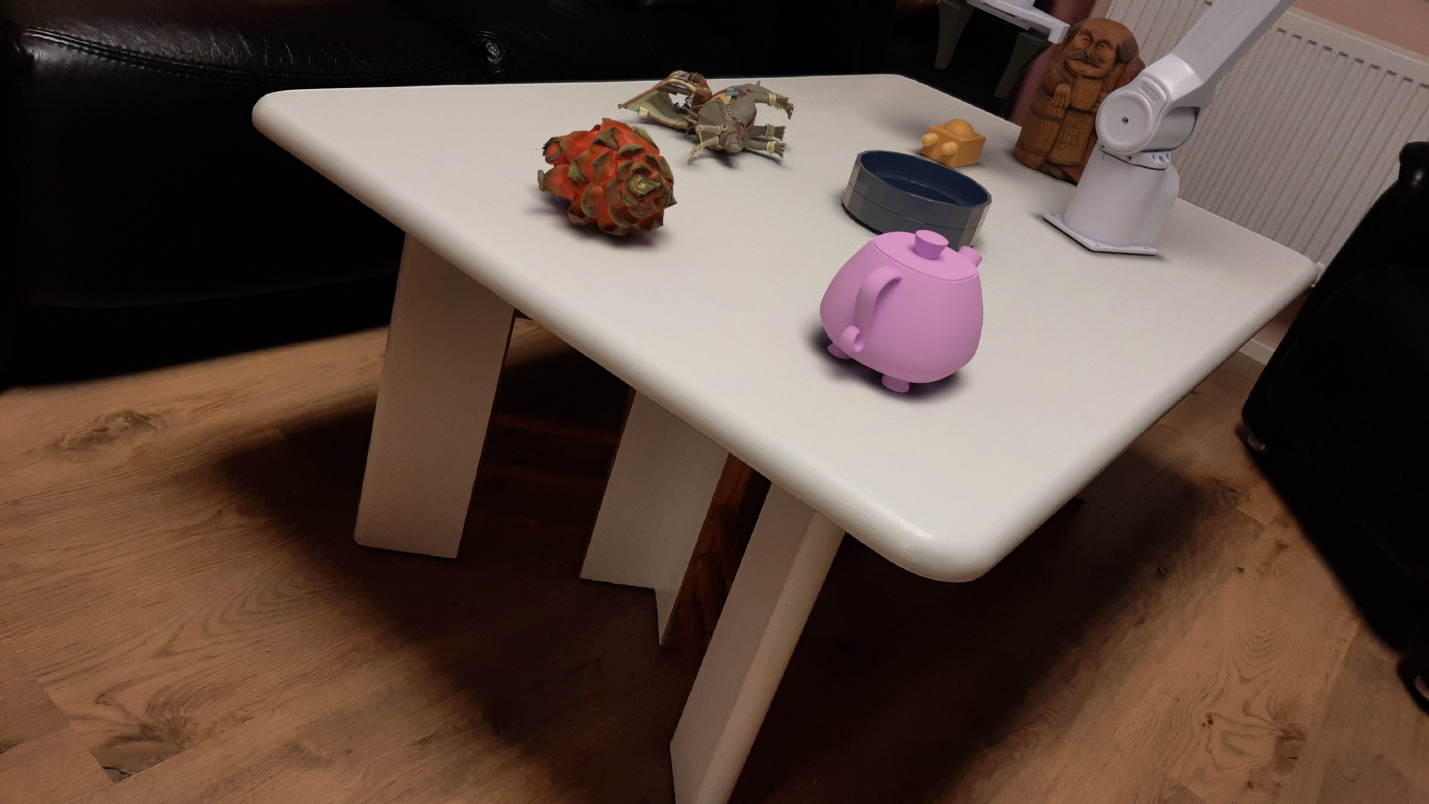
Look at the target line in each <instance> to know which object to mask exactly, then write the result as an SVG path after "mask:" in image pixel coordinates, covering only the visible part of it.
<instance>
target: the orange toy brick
mask: <svg viewBox="0 0 1429 804" xmlns="http://www.w3.org/2000/svg"><path fill="white" fill-rule="evenodd" d="M986 141H987V136H985V135H983V134H980V133H978V132H975V129H974V127H973V126H972V124H971V123H970V122H969V121H968V120H966V119H963V118H954V119H951V120H948V121H947V122H945V123H944V124H939V125H932V126H931V125H930V126H929V128H928V131H927V133H925V134H924V135H922V137H921V139H920V142H921V144H922V147H921V151H920V154H922V155H923V156H925V157H927V158H930V159H932V160H933V161H935V162H937V163H939V164H942V165H944V166H946V167H949V168H951V169H954V168H960V167H965V166H970V165H976V164H978V162H979V158H980V156H981V154H982V150H983V148H984V146H985V143H986Z"/></svg>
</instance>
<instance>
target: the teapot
mask: <svg viewBox="0 0 1429 804" xmlns="http://www.w3.org/2000/svg"><path fill="white" fill-rule="evenodd" d="M947 245H948V240H947V239H945V238H944V237H943V236H941V235H940V234H937V233H935V232H932V231H928V230H918V231H916V234H912V233H907V232H889V233H882V234H879V235H876V236H875V237H873V238H872V239H870V240H869V241H868V242H866V244H864V245H863V246H862V247H860V249H858V250H857V251H856V252H855V253H854V254H853V255H852V256H851V257H850V258H849V259H848V260H847V261H846V262H845V263H844V264H843V265H842V266H841V267H840V268H839V269H838V271H837V272H836V273H835V275H834V276H833V278H832V279H831V281H830V283H829V284H828V286H827V288H826V290H825V292H824V294H823V296H822V298H821V301H820V303H819V315H820V320H821V323H822V325H823V329H824V330H825V333H826V335H827V337H828V338H829V339H830V341H831V342H832V343H831V344H830V345H828V346H827V351H828V352H829V353H830V354H831V355H833V356H834V357H837V358H839V359H843V360H844V359H845V360H851V359H853V360H855V361H857V362H858V363H860V364H862V365H864V366H866V367H867V368H870V369H872V370H874V371H876V372H878V373H880V374H882V378H881V383H882V384H883V386H884V387H886V388H887V389H889V390H891V391H893V392H895V393H907V392H908V391H909V390H910V383H916V384H927V383H933V382H936V381H940V380H942V379H945V378H947V377H949V376H950V375H953V374H954V373H956V372H958V371H959V370H961V369H962V368H964V367H966V365H967V364H969V363H970V362H971V360H972V359H973V358H974V357H975V355H976V353H977V350H978V348H979V344H980V341H981V336H982V330H983V325H984V300H983V291H982V290H983V289H982V282H981V277H980V273H979V270H978V267H979V265H980V264H981V263H982V261H983V257H982V255H981V254H980V252H978V251H977V250H976V249H974V248H972V247H971V246H970V247H967V246H962V247H961V248H960V249H959V250H952V249H951V248H949V247H947Z"/></svg>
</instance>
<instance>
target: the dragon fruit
mask: <svg viewBox="0 0 1429 804" xmlns="http://www.w3.org/2000/svg"><path fill="white" fill-rule="evenodd" d="M601 120H602V121H601V124H599V123H598V124H595V125H593V127H592V128H591V129H590V130H586V129H585V130H584V129H583V130H574V131H571V132H570V133H569V134H563V135H556V136H552V137H550V138H549V139H548V140H547V141H546V142H545V143H544V144H543V147H542V148H541V150H542V155H541V157H544V162H545V163H546V164H548V165H550V166H553V167H552V168H550V169H548V170H546V172H545V173H544V171H543V170H542V169H538V170H537V184H538V189H539V191H540V192H542V193H543V192H544V193H546V192H547V193H551V194H553V195H555V197H557V198H564V199H569V200H570V201H571V202H570V205H569V207H568V209H567V215H568V218H569V220H570V221H571V222H572V223H573V224H574V225H576V226H583V225H585V226H586V225H589V224H592V223H595V222H597V226H598V229H600V230H601V231H603V232H604V233H607V234H610V235H615V236H621V237H624V236H626V235H627V234H628V233H629V232H630V231H631V230H632V228H633V227H634V228H636V229H637V230H641V231H644V232H651V231H652V232H653V231H655V230H657V229H658V228H661V227H663V226H664V216H665V210H666V209H668V208H670V207H673V206H675V205H677V204H678V201H677V200H676V197H675V195H674V185H675V177H674V174H673V171H672V169H671V167H670V164H669V162H668V161H667V159H666V157H664V156H663V155H661V150H660V148H659V146H658V145H657V144H656V143H655V141H654V140H653V138H652V137H651V135H650V134H649V133H648V132H647V131H646V130H645V129H643V128H639V127H637V126H632V125H631V126H630V125H628V124H627V123H625V122H623V121H620V120H617V119H616V120H615V119H612V118H609V117H601ZM535 151H538V149H537V148H536V149H535Z"/></svg>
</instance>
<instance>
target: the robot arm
mask: <svg viewBox="0 0 1429 804" xmlns="http://www.w3.org/2000/svg"><path fill="white" fill-rule="evenodd" d="M1035 1H1036V0H939V1H938V5H937V8H938V17H939V19H938V20H939V33H938V34H939V35H938V45H937V53H936V57H935V62H934V68H936V69H938V70H943V69H947V68H948V65H949V64H950V62H951V59H952V58H953V55H954V52H955V49H956V48H957V44H958V42H959V39H960V37H961V36H962V33H963V31H964V30H965V27H966V25H967V24H968V22H969V20H970V18H971V16H972V15H973V13H974V12H975V10H976V8H978V9H980V10H982V11H985V12H987V13H989V14H991V15H993V16H995V17H997V18H1000V19H1002V20H1004V21H1007V22H1009V23H1011V24H1014V25H1015V26H1018V27H1020V28H1022V29H1024V30H1027V32H1023V31H1022V32H1019V33H1018V35H1017V36H1016V41H1015V44H1014V47H1013V51H1012V53H1011V55H1010V59H1009V62H1008V64H1007V65H1006V69H1005V71H1004V73H1003V75H1002V77H1001V79H1000V80H999V82H998V85H997V87H996V89H995V92H994V95H993V97H996V98H998V99H1003V98H1006V97H1007V95H1008V94H1009V92H1010V91H1011V89H1012V87H1014V85H1015V83H1016V82H1017V81H1018V80H1019V78H1020V77H1021V76H1022V75H1023V74H1024V73H1025V71H1026V70H1027V69H1028V68H1029V67H1031V65H1032V64H1033V63H1034V62H1035V61H1037V59H1038V58H1039V57H1041V55H1043V54H1044V53H1045V52H1046V51H1047V50H1048V49H1050V47H1052V45H1053V44H1055V45H1056V44H1058V43H1062V41H1063V39H1064V37H1065V36H1066V35H1067V34H1068V31H1069V29H1070V27H1071V25H1070V24H1069V23H1066V22H1064V21H1061V20H1060V19H1057V18H1056V17H1055V16H1052V15H1050V14H1048V13H1046V12H1045V11H1043V10H1041V9H1039V8H1037V7H1034V4H1035ZM1296 1H1297V0H1215V1H1214V2H1213V3H1212V5H1211V6H1210V7H1209V8H1208V9H1207V10H1206V12H1204V13H1203V15H1202V16H1201V17H1200V18H1199V19H1198V21H1196V23H1195V24H1194V25H1193V26H1192V27H1191V28H1190V29H1189V30H1188V32H1187V33H1186V34H1185V35H1184V36H1183V37H1182V38H1181V40H1180V41H1179V42H1178V43H1177V44H1176V45H1175V47H1174V48H1173V49H1172V50H1171V51H1170V52H1169V53H1167V54H1166V55H1165V56H1163V57H1161V58H1160V59H1158V60H1156V61H1155V62H1153V63H1152V64H1150V65H1149V66H1147V67H1145V69H1144V70H1142V71H1141V72H1140V74H1139V75H1138V76H1137V77H1136V78H1135V79H1134V80H1133V81H1132V82H1131V83H1129V84H1128V85H1126V86H1124V87H1122V88H1119V89H1117V90H1115V91H1114V92H1112V93H1111V94H1109V95H1108V96H1107V97H1106V98H1105V100H1104V101H1103V102H1102V104H1101V105H1100V107H1099V110H1098V112H1097V116H1096V132H1097V135H1098V140H1097V143H1096V145H1095V147H1094V149H1093V152H1092V154H1091V156H1090V158H1089V160H1088V163H1087V165H1086V167H1085V169H1084V172H1083V174H1082V176H1081V178H1080V181H1079V183H1078V184H1077V186H1076V187H1075V190H1074V192H1073V194H1072V196H1071V199H1070V201H1069V203H1068V206H1067V207H1066V210H1065V211H1064V214H1061V213H1060V214H1059V213H1048V212H1045V213H1044V214H1043V218H1044V219H1045V220H1047V221H1048V222H1049V223H1051V224H1052V225H1054V226H1056V227H1057V228H1058V229H1060V230H1061V231H1062V232H1064V233H1066V234H1067V235H1069V236H1070V237H1071V238H1073V239H1074V240H1076V241H1077V242H1079V244H1081V245H1083V246H1084V247H1086V248H1088V249H1089V250H1091V251H1096V252H1111V253H1125V254H1141V255H1152V256H1153V255H1154V256H1155V255H1157V254H1158V250H1157V248H1155V247H1154V244H1155V243H1156V240H1157V239H1158V236H1159V234H1160V233H1161V231H1162V228H1163V226H1164V224H1165V223H1166V220H1167V219H1168V216H1169V214H1170V212H1171V210H1172V208H1173V207H1174V204H1175V202H1176V200H1177V198H1178V195H1179V192H1180V176H1179V173H1178V171H1177V169H1176V168H1175V166H1174V165H1173V164H1172V163H1171V160H1172V154H1173V152H1175V151H1177V150H1179V149H1181V148H1182V147H1184V146H1185V145H1186V144H1188V143H1189V141H1191V140H1192V138H1193V137H1194V136H1195V133H1196V131H1197V129H1198V126H1199V123H1200V120H1201V118H1202V116H1203V114H1204V113H1205V111H1206V110H1207V109H1208V108H1209V107H1210V106H1211V105H1212V104H1213V103H1214V101H1215V96H1216V90H1217V89H1216V88H1217V85H1218V84H1219V83H1220V82H1221V81H1222V79H1224V77H1226V75H1227V74H1228V73H1229V72H1230V71H1231V70H1232V69H1233V68H1234V67H1235V66H1236V65H1237V64H1238V63H1239V61H1240V60H1242V58H1243V57H1244V56H1245V55H1246V54H1247V53H1248V52H1249V51H1250V50H1251V49H1252V47H1254V46H1255V45H1256V44H1257V43H1258V41H1260V39H1261V38H1262V37H1263V36H1264V35H1265V34H1266V33H1267V32H1268V31H1269V30H1270V28H1272V26H1273V25H1275V24H1276V22H1277V21H1278V20H1279V19H1280V18H1281V17H1282V16H1283V15H1284V14H1285V13H1286V12H1287V10H1289V8H1290V7H1292V6H1293V4H1294V3H1295V2H1296Z"/></svg>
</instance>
